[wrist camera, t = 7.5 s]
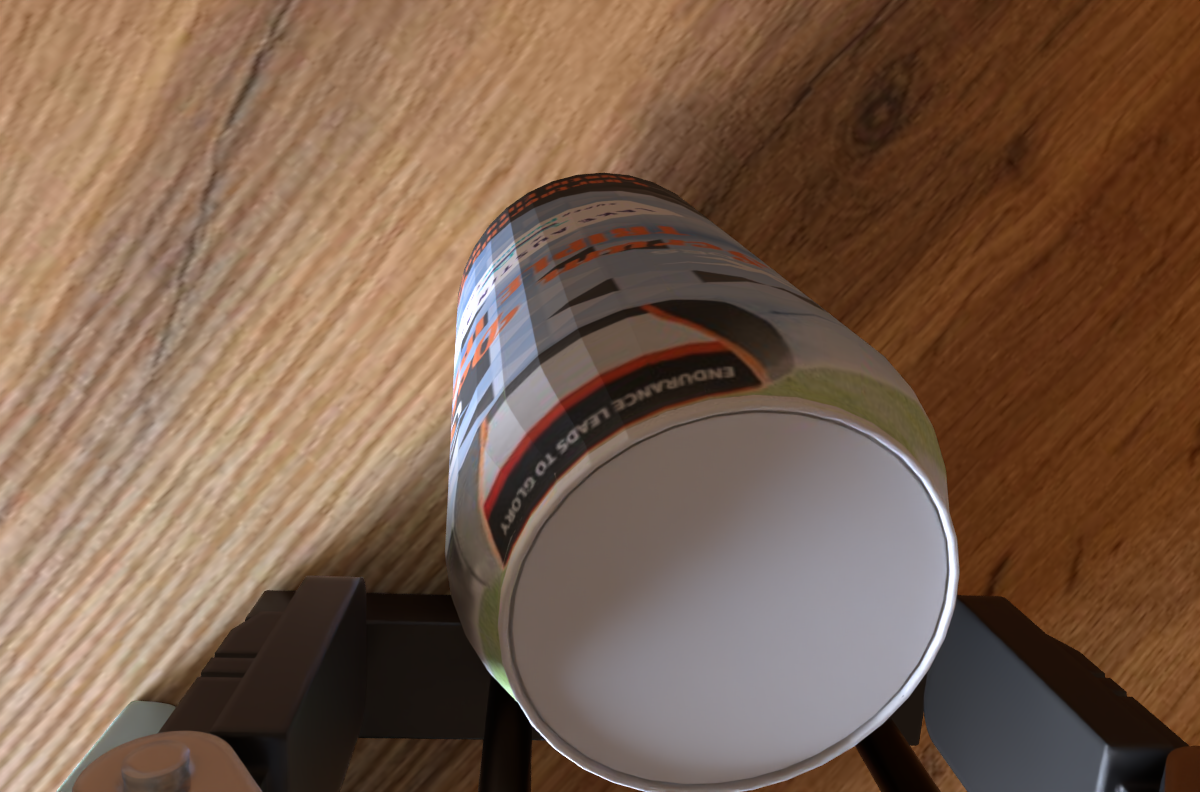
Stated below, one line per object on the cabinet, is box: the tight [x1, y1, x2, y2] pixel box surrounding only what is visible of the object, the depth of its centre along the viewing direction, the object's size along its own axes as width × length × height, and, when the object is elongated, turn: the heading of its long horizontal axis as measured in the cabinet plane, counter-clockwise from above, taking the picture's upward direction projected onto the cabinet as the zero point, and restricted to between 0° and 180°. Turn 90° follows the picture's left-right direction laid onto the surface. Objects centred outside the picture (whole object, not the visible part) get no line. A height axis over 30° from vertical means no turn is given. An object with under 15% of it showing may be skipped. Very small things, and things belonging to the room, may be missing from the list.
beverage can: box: [445, 173, 960, 792], centre depth 14 cm, size 6×7×12 cm
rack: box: [245, 590, 940, 792], centre depth 18 cm, size 3×16×8 cm, turn 87°
